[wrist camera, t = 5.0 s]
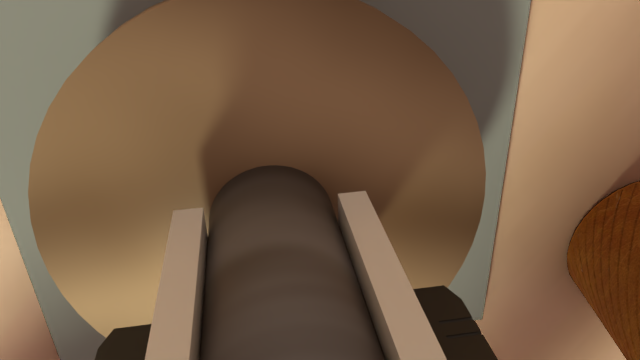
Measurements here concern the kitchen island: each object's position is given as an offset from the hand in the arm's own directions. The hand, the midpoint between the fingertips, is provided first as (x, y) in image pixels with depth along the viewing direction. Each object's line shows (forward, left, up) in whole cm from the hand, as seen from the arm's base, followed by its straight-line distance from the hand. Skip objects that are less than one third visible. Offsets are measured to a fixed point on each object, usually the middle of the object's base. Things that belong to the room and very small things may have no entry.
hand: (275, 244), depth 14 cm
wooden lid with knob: (0, 0, -2) cm, 2 cm away
